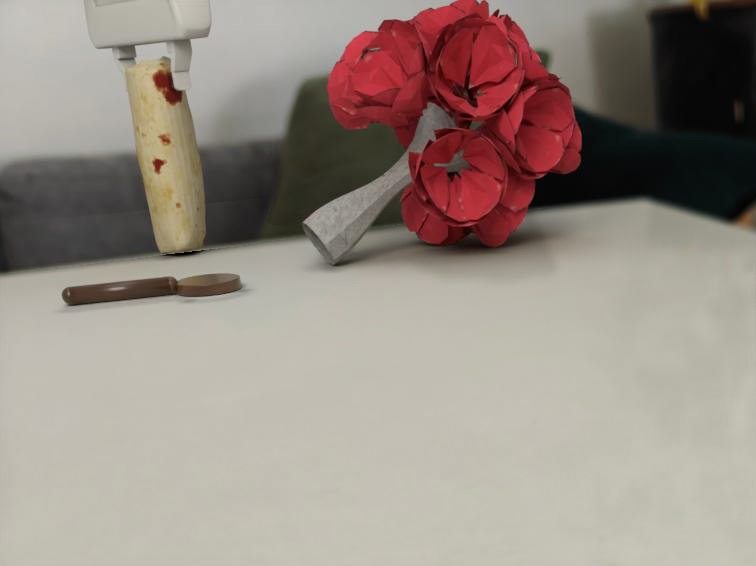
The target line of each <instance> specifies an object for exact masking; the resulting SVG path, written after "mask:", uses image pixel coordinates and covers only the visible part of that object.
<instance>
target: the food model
mask: <svg viewBox="0 0 756 566" xmlns="http://www.w3.org/2000/svg"><path fill="white" fill-rule="evenodd" d="M168 72H171V57H168V56H165V55H163V56H161V57H160V58H158V59H143V60H141V61H139V62H137V63H136V65H134V66H132V67H131V68H125V76H126V82H127V88H128V92H127V94H128V102H129V107H130V114H131V120H132V126H133V135H134V146H135V149H136V156H137V161H138V165H139V168H140V172H141V176H142V183H143V186H144V192H145V197H146V201H147V206H148V210H149V215H150V216H149V217H150V220H151V225H152V231H153V235H154V239H155V243H156V247H157V248H158V251H159V253H160V254H162V255H166V254H169V253H174V254H177V253H179V254H180V253H183V252H185V253H187V252H192V251H196V250H198V249H201V248H203V247H204V246H205V244H206V240H207V225H206V211H207V210H206V208H207V207H206V195H205V185H204V176H203V167H202V161H201V157H200V151H199V147H198V146H199V145H198V142H197V135H196V131H195V125H194V120H193V115H192V112H191V111H192V110H191V107H190V104H189V100H188V95H187V90H180V91H173V90H171V89H170V86H169V80H168V75H167V73H168Z"/></svg>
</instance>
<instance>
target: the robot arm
mask: <svg viewBox="0 0 756 566" xmlns="http://www.w3.org/2000/svg"><path fill="white" fill-rule="evenodd" d="M83 6H84V13H85V20H86V26H87V31H88V36H89V40H90V41H91V43H92V45H93V47H94V48H95V49H97V50H104V49H107V50H108V49H111V51H112V56H113V57H112V58H113V60H114V62H115V64H116V66H117V68H118V70H119V72H120V73H121V76H122V77H123V83H124V86H125V91H126V92H127V93H128V88H127V82H126V76H125V68H131V67H132V66H134V65H136V64H137V61H136V58H137V57H138V56H137V50H136V47H137V46H146V45H153V44H161V43H165V45H166V50H167V53H168V54H170V59H171V72H168V73H167V75H168V80H169V86H170V89H171V90H173V91H180V90H185V91H189V90H190V89H191V88H192V82H191V76H190V69H191V62H192V56H193V47H192V42H191V40H196V39H204V38H208V37H209V35H210V32H211V27H212V12H211V2H210V0H83Z"/></svg>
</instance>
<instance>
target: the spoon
mask: <svg viewBox="0 0 756 566" xmlns="http://www.w3.org/2000/svg"><path fill="white" fill-rule="evenodd" d="M240 289H242V280H241V275H239V274H236V273H229V272H228V273H227V272H225V273H222V272H221V273H220V272H218V273H206V274H198V275H193V276H187V277H184V278H180V279H179V280H178V279H177V278H175V277H173V276H169V275H168V276H160V277H150V278H149V277H148V278H140V279H130V280H120V281H110V282H102V283H93V284H84V285H82V284H81V285H72V286H66V287H65V288H64V289H62V291H61V299H62V300H63V302H64V303H65V304H67V305H69V306H75V305H85V304H93V303H100V302H101V303H103V302H112V301H122V300H130V299H132V300H133V299H141V298H149V297H159V296H169V295H174V294H177V295H179V296H182V297H209V296H217V295H224V294H227V293H233V292H236V291H237V290H240Z"/></svg>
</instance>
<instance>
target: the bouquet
mask: <svg viewBox="0 0 756 566" xmlns="http://www.w3.org/2000/svg"><path fill="white" fill-rule="evenodd" d="M500 11H501V10H500V8H497V9H496V10H494V12H492V13H491V15H490V3H488V1H487V0H481V1H480V3H479V2H478V0H455V1H453V2H450V4H449V5H444V6H438V7H436V8H433V7H427V8H426V9H423V10H420V11H419V12H418V13H417V14H416V15H414V16H413V18H411V19H407V20H401V19H398V18H394V19H391V18H390V19H383V20H382V22H381V23H380V25H379V26H378V28H377V31H376V30H364V31H362V32H360V33H359V34H357V35H356V36H354V37H353V38H352V39H351V40H350V41H349V43H348V44H347V45H346V46H345V49H344V51H343V53H342V55H341V56H340V58H339V60H338V61H336V62H335V64H334V65H333V67H332V69H331V71H330V73H329V76H328V80H327V84H326V90H327V97H328V102H329V108H330V109H331V112H332V114H333V116H334V119H335V120H336V122H338V124H340V125H341V126H342V127H343V128H344V129H345V130H361V129H367V128H368V127H369V125H370V124H379V123H381V124H383V125H386V126H388V127H390V128H392V129H393V132H394V134H395V137H396V139H397V141H398V143H399V144H401V146H402V147H403V148H404V149H405V150H406V151H405V152H404V153H403V155H401V157H400V158H399V159H398V160H397V162H395V163H394V164H393V165H392V166H391V167H390V168H389V169H388V170H387V171H386V172H384V173H383V174H382V175H381V176H379V177H377V178H375V180H372V181H371V182H368V183H367V184H365V185H363V186H360V187H359V188H357V189H355V190H352V191H350V192H348V193H345V194H343V195H341V196H339V197H337V198H335V199H333V200H331V201H329V202H327V203H326V204H324V205H322V206H321V207H319V208H318V209H316V210H315V211H314V212H312V213H311V214H310V215H308V217H306V218H305V219H304V220H303V221H302V222H301V226H302V229H303V231H304V233H305V235H306V236H307V238H308V239H309V241H310V243H311V244H312V245H313V246H314V248H315V249H316V250H317V252H318V253H319V254H320V256H322V258H323V259H325V260H326V261H327V262H328V263H329V264H331V265H332V266H334V265H336V264H337V263H339V262H340V261H342V260H343V259H344V258H345V257H346V256H347V255H348V254H350V253H351V251H352V250H353V249H354V248H355V247H356V246H357V244H359V243H360V241H361V240H362V239H363V238H364V236H365V235H366V234H367V232H368V231H369V229H370V228H371V226H372V225H373V224H374V223H375V222H376V221H377V218H378V217H379V216H380V215H381V213H383V211H384V209H385V208H386V207H387V206H388V205H389V204H390V203H391V202H392V200H394V198H396V197H397V196H398V195H399V194H400V193H402V192H403V193H402V195H401V197H400V199H399V202H401V211H400V214H401V217H402V220H403V222H404V225H405V226H406V228H407V229H408V231H409V232H410V233H415V235H416V236H417V238H418V239H420V240H422V241H423V242H426V243H428V244H432V245H438V246H445V245H447V246H448V245H454V244H455V243H457V242H459V241H463V240H465V239H466V238H467V237H468V236H470V235H471V234H473V235H475V237H476V238H477V239H479V240H480V241H481V242H482V244H483V246H486V247H490V248H493V249H495V248H497V247H499V246H501V245H503V244H504V243H505V242H506V241H507V240H508V238H509V237H510V234H513V233H515V232H516V231H517V230H518V228H519V227H520V226H521V224H522V223H523V222H524V219H525V217H526V215H527V213H528V209H529V206H530V204H531V202H532V200H533V198H534V196H535V194H536V190H535V189H536V183H537V182H536V181H535V180H537V179H540V178H542V177H544V176H546V175H548V174H549V173H556V174H562V175H568V174H570V173H573V172H575V171H577V170H578V169H579V166H580V164H581V162H582V161H581V160H582V155H581V154H580V152H581V150H582V149H583V142H582V140H583V139H582V132H581V129H580V126H579V123H578V121H577V119H576V115H575V112H574V106H573V102H572V100H573V97H572V95H571V92H570V88H569V87H568V86H566V85H565V84H564V83H562V82H561V81H560V80H561V79H562V78H563V77H558V76H557V75H556V74H555V73H551V72H549V71H548V70H547V68H545V66H544V65H543V63H542V60H541V58H540V56H539V55H538V54H537V52H536V51H535V50H534V49H533V48H532V46H530V42H529V40H528V38H527V36H526V34H525V32H524V30H523V29H522V28H521V27H520V25H518V24H517V22H516V21H515V20H512V17H511V16H510V15H509V14H507V13H506V14H500ZM466 94H467V95H466ZM479 94H482V95H479ZM453 119H454V120H453ZM472 122H479V123H481V124H479V125H478V126H477V127H476V128H475V129H470V128H471V126H472ZM459 172H460V173H459Z"/></svg>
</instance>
